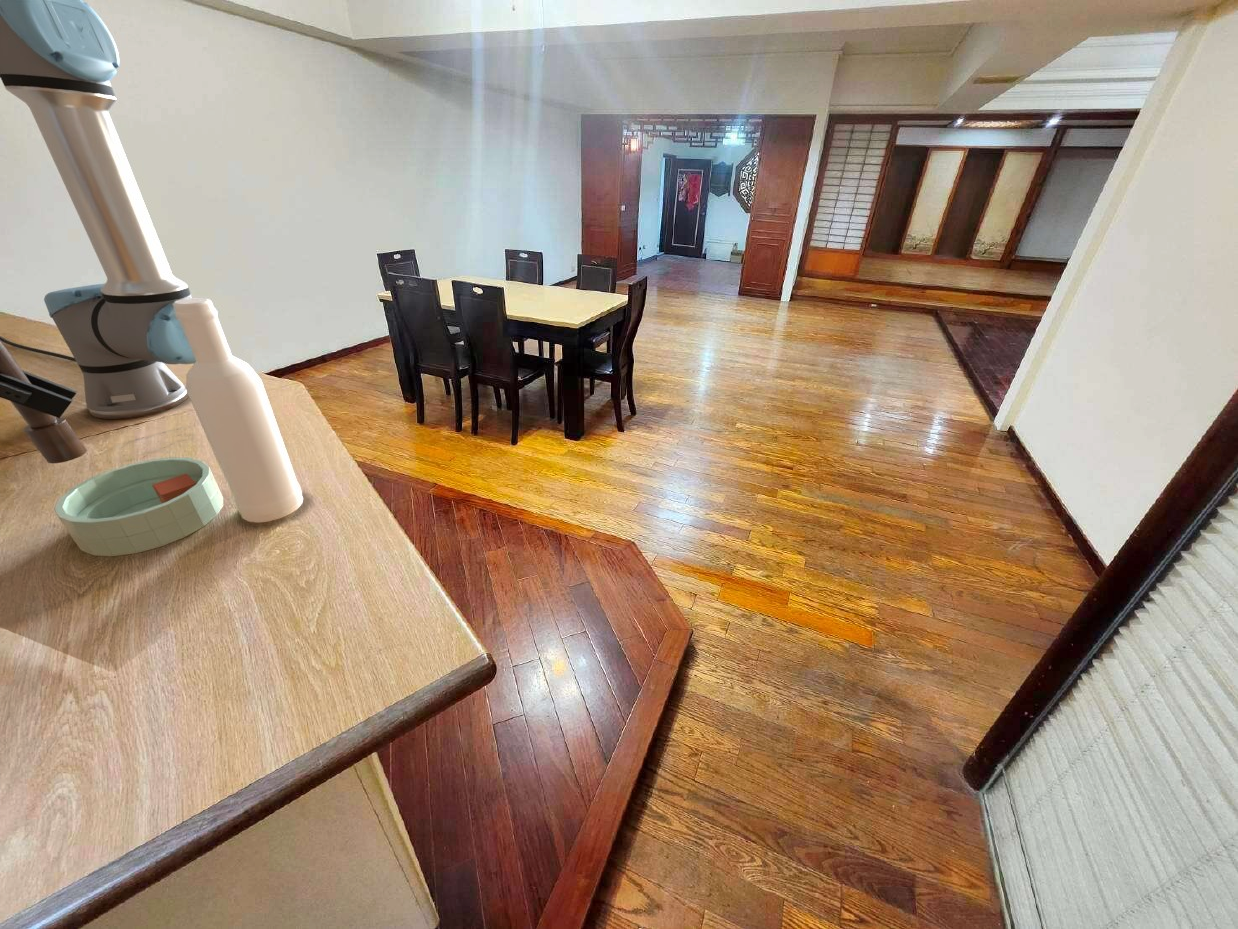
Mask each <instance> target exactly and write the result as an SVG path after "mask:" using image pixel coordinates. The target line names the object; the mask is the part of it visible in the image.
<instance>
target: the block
mask: <svg viewBox="0 0 1238 929" xmlns="http://www.w3.org/2000/svg"><path fill="white" fill-rule="evenodd" d="M196 484H197V483H196V482H195V481H194V480H193V479H192V478H191V477H189V476H188V475H187V474H183V475H180V476H177V477H174V478H171V479H168V480H165V481H162V482H159V483H156V484H153V485H152V486H153V488H154V490H155V492H156V493H157V495H158V497H159V499H160V501H161V503H165V502H167V501H169V500H171V499H173V498H175V497H177V496H179V495H182V494H183V493H185V492H186V491H187V490H189V489H190V488H192V487H193V486H194V485H196Z"/></svg>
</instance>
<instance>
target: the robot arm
mask: <svg viewBox="0 0 1238 929" xmlns="http://www.w3.org/2000/svg"><path fill="white" fill-rule="evenodd" d="M109 30H110V29H109V28H108V27H107V25H106V24H105V22H104V21H103V19H102V18H101V17H100V16H99V15H98V13H97V12H96V11H95V10H94V9H93V7H91V5H89V4H88V3H87V2H85V1H84V0H0V80H1V82H2V84H3V86H4V89H5V90H6V91H7V92H9V93H10V94H12V95H13V96H15V97H16V98H18V100H21V101H22V102H23V103H25V104H26V105H27V107H28V108H29V110H30V112H31V114H32V116H33V119H34V121H35V124H36V125H37V128H38V129H39V132H40V133H41V136H42V138H43V141H44V143H45V145H46V147H47V150H48V151H49V152H48V153H49V154H50V156H51V158H52V160H53V162H54V164H55V167H56V169H57V171H58V174H59V176H60V177H61V180H62V182H63V185H64V187H65V189H66V191H67V193H68V196H69V197H70V200H71V202H72V204H73V207H74V209H75V210H76V213H77V215H78V217H79V220H80V222H81V224H82V226H83V228H84V230H85V233H86V235H87V237H88V239H89V241H90V243H91V245H92V246H91V247H92V248H93V250H94V252H95V254H96V257H97V259H98V261H99V263H100V265H101V268H102V271H103V272H104V274H105V276H106V278H107V279H106V282H105V283H98V284H90V285H89V284H88V285H82V286H75V287H70V288H64V289H58V290H53V291H50V292H48V293H46V294H45V295H44V298H43V301H44V304H45V306H46V309H47V312H48V315H49V317H50V318H51V319H52V321H53V322H54V324H55V326H56V327H57V329H58V331H59V332H60V334H61V336H62V338H63V340H64V342H65V343H66V346H67V347H68V349H69V351H70V353H71V355H72V356H70V355H66V354H61V353H57V352H53V351H48V350H44V349H39V348H34V347H30V346H26V345H22V344H19V343H15V342H13V341H10V340H8V339H7V338H4V337H3V336H1V335H0V341H1V342H2V343H3V344H7V345H10V346H12V347H15V348H19V349H22V350H24V351H30V352H34V353H37V354H42V355H46V356H51V357H56V358H59V359H65V360H67V361H71V362H75V363H77V365H78V367H79V368H80V370H81V372H82V376H83V384H84V395H85V397H84V398H85V404H86V407H87V410H88V411H89V413H90V415H91V416H92V417H94V418H98V419H104V420H105V419H106V420H122V419H130V418H131V419H132V418H138V417H139V418H140V417H144V416H149V415H152V414H158V413H160V412H164V411H167V410H170V409H173V408H175V407H177V406H179V405H181V404H182V403H184V402H185V401H186V400H188V398H189V396H188V393H187V391H186V385H184V383H183V382H182V381H181V380H180V379H179V378H178V376H176V375H175V373H173V371H172V370H171V369H170V368H169V367H168V366H167V365H194V363H195V362H196V359H195V357H194V354H193V352H192V350H191V347H190V345H189V342H188V340H187V337H186V335H185V333H184V330H183V328H182V325H181V323H180V321H179V320H178V319H177V317H176V315H175V309H174V306H173V304H174V302H175V301H177V300H181V299H187V298H193V297H192V293H191V291H190V288H189V285H188V283H186V282H185V281H183V280H181V279H180V278H178V277H177V276H175V275H174V274H173V273H172V270H171V268H170V265H169V262H168V260H167V257H166V255H165V252H164V249H163V247H162V244H161V242H160V239H159V236H158V234H157V231H156V229H155V227H154V223H153V221H152V218H151V217H150V214H149V212H148V209H147V207H146V204H145V202H144V198H143V196H142V194H141V191H140V188H139V186H138V184H137V180H136V179H135V176H134V173H133V170H132V168H131V165H130V163H129V161H128V158H127V156H126V153H125V150H124V148H123V145H122V143H121V140H120V138H119V134H118V132H117V130H116V127H115V125H114V122H113V119H112V117H111V114H110V111H111V109H112V108H113V106H114V104H116V102H117V100H118V99H117V97H116V95H115V92H114V90H113V87H112V84H111V80H112V79H113V78H114V77H115V76H116V75H117V69H118V68H120V55H119V50H118V47H117V44H116V42H115V39H114V37H113V36H112V34H111V31H109ZM21 370H22V371H23V373H24V374H25V375H26V377H27V378H28V380H29V381H30V382H31V384H30V383H27V382H25V381H22V380H19V379H17V378H14V377H11V376H9V375H6V374H3V373H0V398H1V399H3V400H7V401H9V402H11V401H12V402H15V403H18V404H21V405H24V406H26V407H29V408H32V409H35V410H38V411H41V412H43V413H46V414H49V415H52V416H55V417H57V418H60V417H62V415H64V413H65V412H66V411H67V409H68V408H69V406H70V405H71V404H72V403H73V400H74V397H76V395H77V393H78V391H77V390H75V389H72V388H69V387H67V386H65V385H62V384H59V383H57V382H54V381H51V380H49V379H47V378H44V377H42V376H39V375H36V374H33V373H32V372H29V371H26V370H23V369H21Z"/></svg>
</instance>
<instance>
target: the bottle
mask: <svg viewBox="0 0 1238 929" xmlns="http://www.w3.org/2000/svg"><path fill="white" fill-rule="evenodd" d="M173 306H174V309H175V315H176V317H177V319H178V320H179V321H180V323H181V325H182V328H183V330H184V333H185V335H186V337H187V340H188V342H189V345H190V347H191V350H192V352H193V354H194V357H195V359H196V362H195V363H193V364H192V366H191V368H190V369H189V370H188V371H187V373H186V374H185V376H186V377H185V387H186V391H187V393H188V398H189V400H190V402H191V404H192V407H193V409H194V411H195V413H196V416H197V418H198V420H199V423H200V425H201V428H202V429H203V432H204V434H205V437H206V439H207V440H208V443H209V445H210V448H211V450H212V452H213V455H214V457H215V459H216V461H217V463H218V466H219V469H220V471H221V473H222V475H223V477H224V479H225V482H226V483H227V487H228V489H229V491H230V493H231V495H232V497H233V502H234V504H235V507H236V509H237V511H238V512H239V515H240V516H241V517H242V519H243V520H245V521H247V522H250V523H266V522H267V523H268V522H272V521H276V520H279V519H282V518H284V517H287V516H288V515H292V513H294V512H295V511H297V510H298V509H299V508H300V507H301V506H302V505H303V502H304V497H303V491H302V488H301V486H300V483H299V482H298V480H297V477H296V474H295V471H294V468H293V465H292V463H291V460H290V457H289V454H288V452H287V451H288V450H287V449H286V446H285V443H284V440H283V437H282V435H281V432H280V428H279V426H278V423H277V420H276V418H275V415H274V411H273V409H272V406H271V404H270V400H269V398H268V395H267V392H266V389H265V387H264V383H263V380H262V379H261V378H260V376H259V375H258V374H257V372H256V371H255V370H254V369H253V367H251V365H250V364H249V363H248V362H246V361H244V360H242V359H241V358H238V357H236V356H234V355H232V352H231V348H230V347H229V344H228V341H227V338H226V335H225V333H224V331H223V327H222V324H221V323H220V320H219V317H218V316H219V315H218V314H219V313H218V310H217V309H216V308H215V307H214V303H213V302H212V300H211V299H209V298H206V297H192V298H187V299H181V300H177V301H175V302H174V304H173Z"/></svg>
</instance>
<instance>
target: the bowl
mask: <svg viewBox="0 0 1238 929" xmlns="http://www.w3.org/2000/svg"><path fill="white" fill-rule="evenodd" d="M183 474H187V475H188V476H189V477H191V478H192V479H193V480H194V481H195V482H196V483H197V484H196V485H194V486H193V487H192V488H190V489H189V490H187V491H186V492H185V493H183V494H182V495H179V496H177V497H175V498H173V499H171V500H169V501H167V502H165V503H161V501H160V499H159V497H158V495H157V493H156V492H155V490H154V488H153V486H152V485H153V484H156V483H159V482H162V481H165V480H168V479H171V478H174V477H177V476H180V475H183ZM223 507H224V496H223V494H222V492H221V489H220V487H219V485H218V482H217V481H216V479H215V477H214V474H213V472H212V470H211V467H210V466H208V464H207V463H206V462H204V461H203V460H201V459H200V460H199V459H197V458H192V457H178V456H177V457H176V456H174V457H173V456H172V457H162V458H153V459H147V460H142V461H138V462H133V463H129V464H126V465H123V466H119V467H116V468H113V469H110V470H107V471H104V472H102V473H99V474H97V475H94V476H92V477H90V478H87V479H86V480H83V481H82V482H81V483H78V484H77V485H75V486H73V487H71V488H70V489H68V491H66V492H65V493H64V494H63V495H61V497H60V498H59V499H57V501H56V503H55V506H54V508H53V510H54V512H55V514H56V516H57V518H58V519H59V521H60V522H61V523H62V525H63V527H64V528H65V529H66V531H67V532H68V534H69V535H70V537H71V538H72V540H73V541H74V542H75V544H76V545H77V547H78V548H79V550H80V551H81V552H84V553H86V554H88V555H91V556H96V557H97V556H98V557H118V556H125V555H133V554H139V553H143V552H146V551H147V552H148V551H150V550H154V549H158V548H161V547H164V546H167V545H169V544H171V543H173V542H177V541H179V540H182V539H184V538H186V537H188V536H190V535H191V534H193V533H195V532H197V531H198V530H200V529H202V528H204V527H206V525H207V524H209V523H210V522H211V521H213V520H214V519H215V518H216V517H217V516H218V515H219V514H220V512H221V510H222V509H223Z"/></svg>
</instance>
